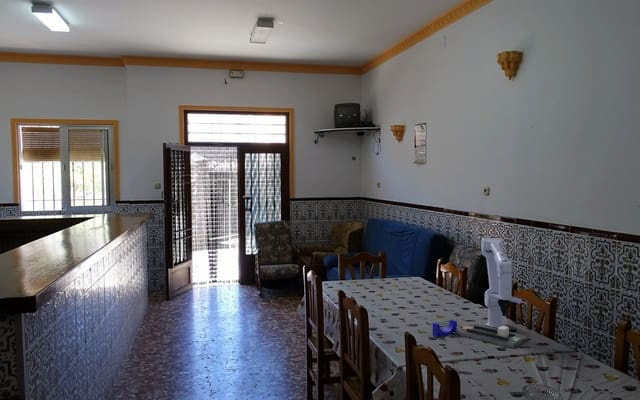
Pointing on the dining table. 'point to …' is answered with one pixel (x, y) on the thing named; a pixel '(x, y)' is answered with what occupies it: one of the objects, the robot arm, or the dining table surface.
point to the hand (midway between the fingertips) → (504, 315)
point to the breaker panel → (491, 335)
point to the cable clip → (444, 329)
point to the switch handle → (503, 331)
